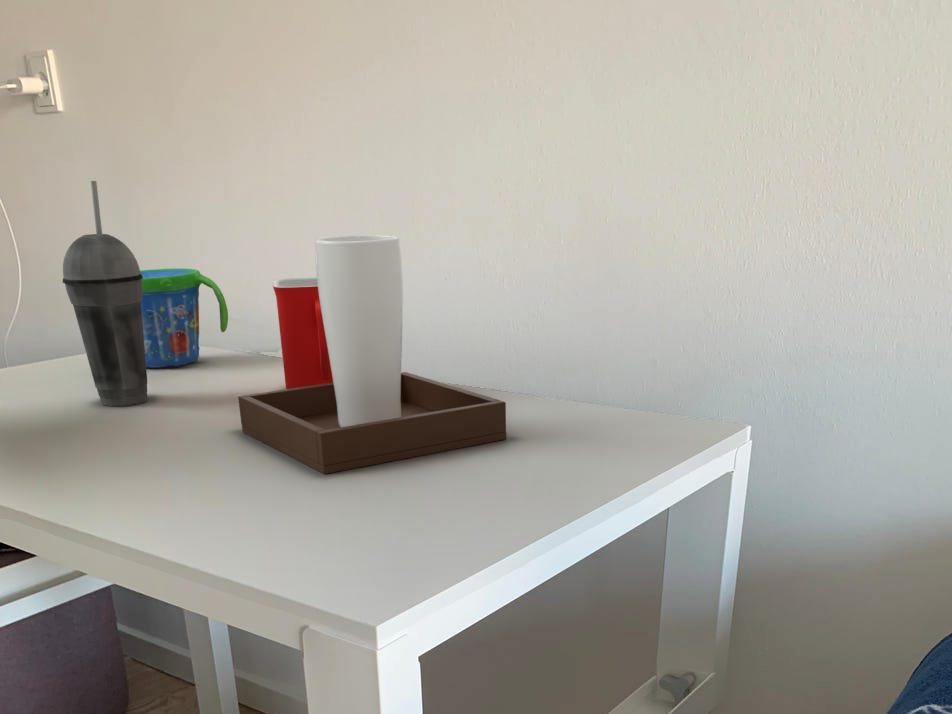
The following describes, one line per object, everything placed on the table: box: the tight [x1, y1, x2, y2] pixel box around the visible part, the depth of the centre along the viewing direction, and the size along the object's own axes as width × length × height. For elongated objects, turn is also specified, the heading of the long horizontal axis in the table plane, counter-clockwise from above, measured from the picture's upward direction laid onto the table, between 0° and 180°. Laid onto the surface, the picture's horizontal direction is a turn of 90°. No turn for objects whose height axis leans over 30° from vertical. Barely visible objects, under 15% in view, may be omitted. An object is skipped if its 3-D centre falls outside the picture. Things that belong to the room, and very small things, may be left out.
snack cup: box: [140, 267, 229, 369], centre depth 116 cm, size 16×10×10 cm
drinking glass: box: [314, 234, 404, 427], centre depth 82 cm, size 7×7×15 cm
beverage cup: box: [62, 180, 149, 407], centre depth 96 cm, size 7×7×20 cm
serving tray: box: [237, 371, 507, 475], centre depth 85 cm, size 17×17×3 cm
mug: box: [272, 276, 333, 389], centre depth 98 cm, size 12×8×11 cm
